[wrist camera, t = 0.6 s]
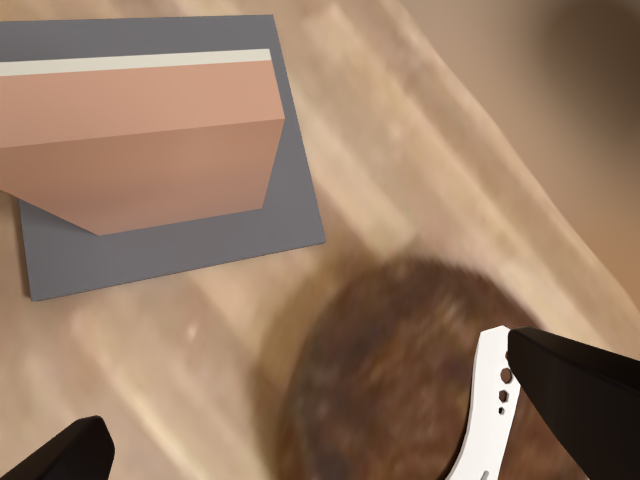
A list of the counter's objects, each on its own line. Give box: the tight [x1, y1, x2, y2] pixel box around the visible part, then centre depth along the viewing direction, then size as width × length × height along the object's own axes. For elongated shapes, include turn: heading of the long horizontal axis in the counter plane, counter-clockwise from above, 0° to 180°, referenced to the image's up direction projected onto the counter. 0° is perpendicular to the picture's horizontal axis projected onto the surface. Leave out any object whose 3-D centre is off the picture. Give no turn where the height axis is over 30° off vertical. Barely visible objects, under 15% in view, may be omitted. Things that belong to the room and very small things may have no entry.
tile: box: [0, 49, 285, 236], centre depth 15 cm, size 2×9×11 cm, turn 103°
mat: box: [0, 15, 326, 301], centre depth 21 cm, size 16×16×1 cm
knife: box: [445, 326, 521, 480], centre depth 22 cm, size 31×6×2 cm, turn 145°
